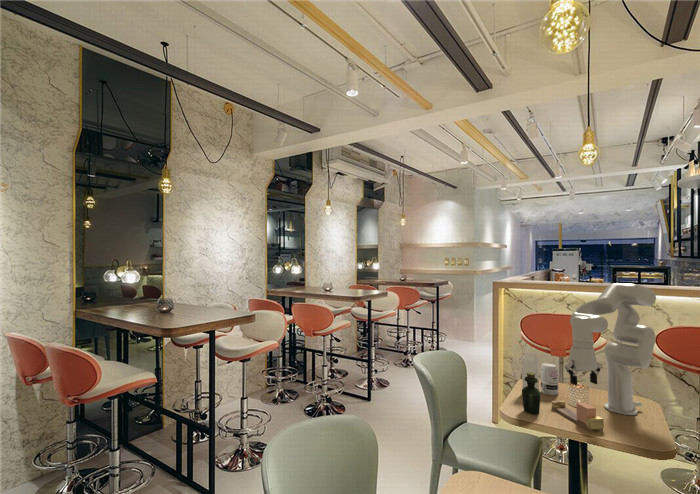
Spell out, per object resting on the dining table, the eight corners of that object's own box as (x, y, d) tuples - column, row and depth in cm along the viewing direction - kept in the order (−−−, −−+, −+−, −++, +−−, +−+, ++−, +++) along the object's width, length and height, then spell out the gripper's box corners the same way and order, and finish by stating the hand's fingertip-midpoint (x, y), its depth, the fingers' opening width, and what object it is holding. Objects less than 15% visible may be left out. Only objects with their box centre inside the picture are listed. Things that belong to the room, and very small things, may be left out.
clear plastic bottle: (533, 397, 184) (533, 354, 185) (522, 393, 189) (521, 352, 190) (539, 394, 188) (538, 352, 189) (527, 390, 193) (527, 350, 194)
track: (563, 408, 170) (563, 400, 170) (603, 431, 148) (603, 422, 148) (552, 408, 170) (551, 401, 170) (590, 431, 147) (590, 423, 147)
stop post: (599, 425, 150) (598, 416, 150) (603, 428, 147) (603, 418, 147) (586, 426, 149) (586, 416, 149) (590, 429, 146) (590, 419, 147)
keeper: (585, 418, 156) (584, 402, 156) (596, 424, 150) (595, 408, 150) (576, 418, 155) (576, 402, 156) (587, 425, 149) (587, 408, 150)
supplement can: (544, 389, 196) (544, 361, 196) (560, 393, 189) (560, 365, 190) (538, 392, 191) (537, 364, 191) (554, 397, 184) (554, 368, 185)
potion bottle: (518, 410, 168) (517, 371, 169) (530, 407, 171) (529, 369, 172) (532, 417, 161) (532, 377, 161) (545, 414, 164) (544, 374, 164)
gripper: (593, 341, 160) (594, 379, 160) (558, 343, 158) (559, 381, 157) (607, 345, 153) (608, 385, 152) (571, 347, 150) (572, 387, 150)
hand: (583, 383), depth 155 cm, fingers open, 9 cm apart
